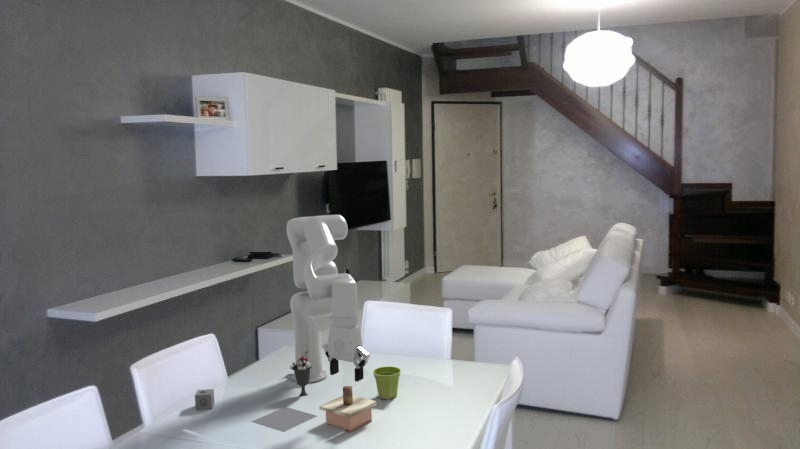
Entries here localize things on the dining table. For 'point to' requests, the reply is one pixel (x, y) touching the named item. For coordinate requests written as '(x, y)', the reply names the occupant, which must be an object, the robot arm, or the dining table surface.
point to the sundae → (302, 373)
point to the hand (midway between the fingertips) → (346, 376)
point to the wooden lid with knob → (348, 404)
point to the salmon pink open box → (349, 420)
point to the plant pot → (387, 381)
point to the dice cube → (204, 399)
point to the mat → (284, 419)
